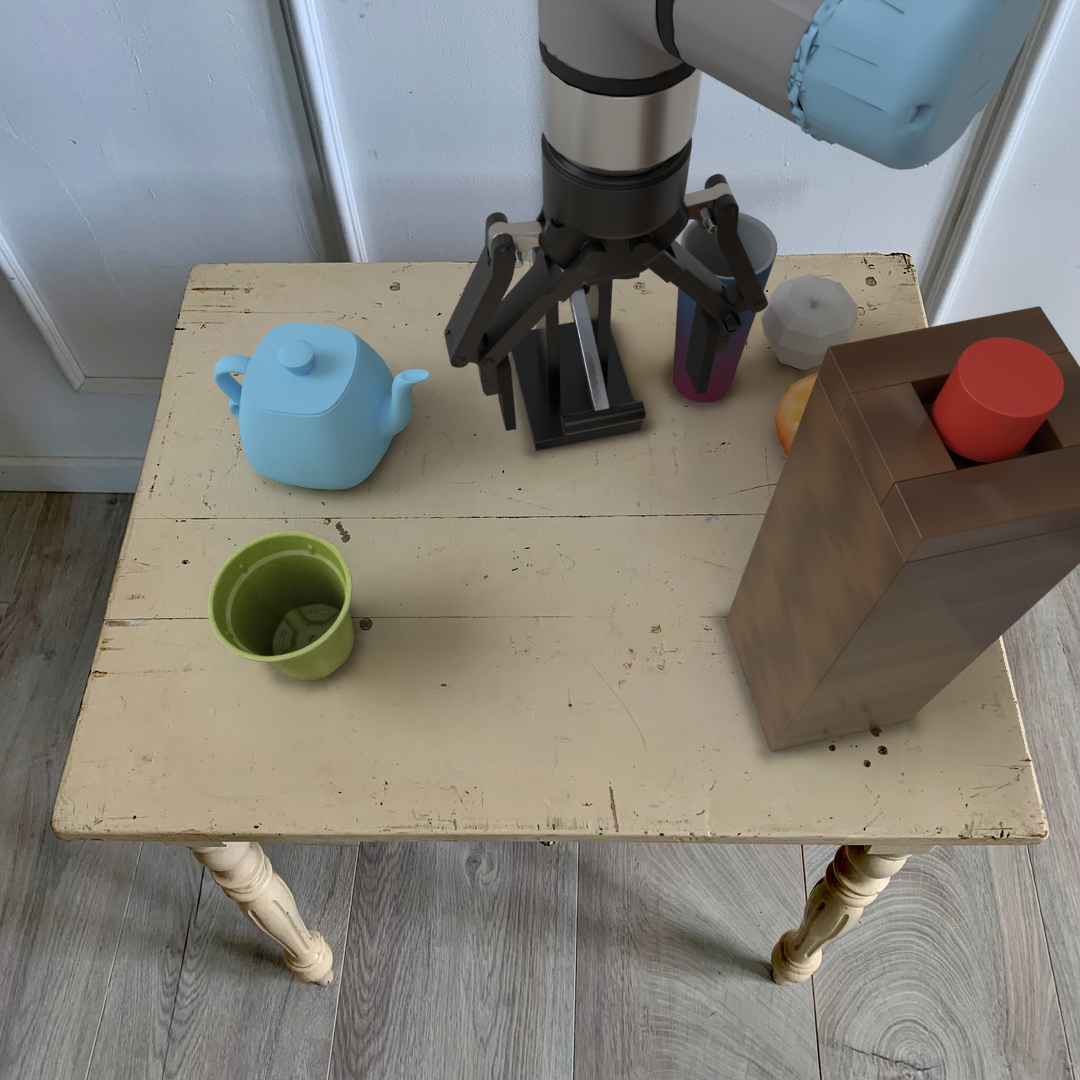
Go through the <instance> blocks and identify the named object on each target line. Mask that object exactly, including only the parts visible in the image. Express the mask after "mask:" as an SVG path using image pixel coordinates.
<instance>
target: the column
mask: <svg viewBox="0 0 1080 1080" xmlns="http://www.w3.org/2000/svg"><path fill="white" fill-rule="evenodd" d="M989 338H1011V339H1016V340H1020V341H1023V342H1026V343H1029V344H1031V345H1033V346H1035V347H1037V348H1038V349H1040V350H1041V351H1043V352H1044V353H1046V354H1047V355H1048V356H1049V357H1050V358H1051V359H1052V360H1053V361H1054V362H1055V364H1056V365H1057V366H1058V368H1059V370H1060V372H1061V374H1062V377H1063V382H1064V390H1063V395H1062V398H1061V400H1060V401H1059V403H1058V404H1057V405H1056V407H1055V408H1054V409H1053V411H1052V412H1051V413H1050V414H1049V416H1048V417H1047V418H1046V420H1045V421H1044V422H1043V424H1042V425H1041V426H1040V427H1039V429H1038V430H1037V431H1036V433H1035V434H1034V435H1033V436H1032V438H1031V439H1030V440H1029V442H1028V443H1027V444H1026V445H1025V447H1024V448H1023V449H1022V450H1021V451H1020V452H1019V453H1018V454H1017V455H1015V456H1014V457H1012V458H1009V459H1007V460H1004V461H1000V462H989V463H987V462H978V461H973V460H970V459H967V458H964V457H962V456H960V455H958V454H956V453H954V452H953V451H951V450H950V449H949V448H947V447H946V446H945V445H944V444H943V442H942V441H941V439H940V437H939V435H938V433H937V431H936V429H935V427H934V426H933V424H932V422H931V409H932V406H933V404H934V402H935V400H936V398H937V397H938V395H939V393H940V391H941V390H942V388H943V386H944V384H945V383H946V381H947V379H948V377H949V376H950V374H951V372H952V371H953V369H954V367H955V365H956V364H957V362H958V360H959V358H960V357H961V355H962V354H963V352H964V351H965V350H966V349H967V348H968V347H970V346H971V345H973V344H974V343H976V342H979V341H981V340H985V339H989ZM1079 565H1080V365H1079V363H1078V361H1077V360H1076V358H1075V357H1074V356H1073V354H1072V353H1071V351H1069V348H1068V346H1067V345H1066V343H1065V341H1064V340H1063V339H1062V338H1061V336H1060V334H1059V332H1058V331H1057V330H1056V328H1055V327H1054V325H1053V324H1052V322H1051V320H1050V319H1049V318H1048V316H1047V315H1046V313H1045V312H1044V310H1043V308H1042V307H1041V306H1039V305H1037V306H1032V307H1027V308H1022V309H1018V310H1011V311H1006V312H1001V313H995V314H990V315H986V316H980V317H976V318H970V319H965V320H958V321H954V322H949V323H944V324H943V323H942V324H939V325H933V326H928V327H923V328H917V329H913V330H907V331H902V332H897V333H892V334H885V335H881V336H876V337H875V336H874V337H870V338H865V339H860V340H855V341H849V342H848V343H844V344H839V345H833V346H829V347H828V348H827V351H826V354H825V356H824V359H823V362H822V364H820V367H819V370H818V376H817V378H816V380H815V383H814V386H813V388H812V391H811V394H810V396H809V399H808V402H807V404H806V407H805V410H804V413H803V415H802V418H801V421H800V423H799V426H798V429H797V431H796V434H795V437H794V439H793V442H792V445H791V447H790V450H789V453H788V455H787V456H786V458H785V460H784V464H783V466H782V469H781V472H780V475H779V477H778V480H777V482H776V484H775V487H774V491H773V493H772V496H771V499H770V501H769V504H768V507H767V508H766V512H765V514H764V517H763V520H762V522H761V526H760V528H759V531H758V533H757V536H756V539H755V542H754V544H753V546H752V549H751V551H750V554H749V557H748V560H747V563H746V565H745V568H744V571H743V574H742V576H741V578H740V581H739V584H738V587H737V589H736V592H735V594H734V597H733V600H732V603H731V606H730V608H729V610H728V614H727V616H726V618H725V623H726V626H727V629H728V632H729V635H730V638H731V640H732V643H733V646H734V650H735V652H736V655H737V657H738V661H739V664H740V667H741V670H742V672H743V675H744V678H745V681H746V684H747V687H748V690H749V693H750V696H751V699H752V701H753V705H754V707H755V710H756V714H757V717H758V719H759V722H760V724H761V728H762V731H763V734H764V736H765V739H766V742H767V745H768V748H769V750H770V751H769V752H776V751H780V750H786V749H790V748H793V747H799V746H802V745H807V744H812V743H816V742H820V741H825V740H829V739H834V738H837V737H842V736H847V735H852V734H856V733H861V732H865V731H869V730H874V729H877V728H882V727H887V726H891V725H896V724H900V723H905V722H909V721H910V720H911V719H912V718H913V717H914V716H916V715H917V714H918V713H919V712H920V711H921V710H922V709H923V708H924V707H925V706H927V705H928V704H929V703H930V702H931V701H932V700H933V699H934V698H935V697H936V696H937V695H938V694H940V693H941V692H942V691H943V690H944V689H945V688H946V687H947V686H948V685H950V683H952V682H953V681H954V680H955V679H956V678H957V677H959V675H960V674H961V673H962V672H964V671H965V670H966V669H967V668H968V667H969V666H970V665H971V664H972V663H974V661H975V660H977V659H978V658H979V657H980V656H982V654H983V653H985V652H986V651H987V650H988V649H989V648H990V647H991V646H992V645H993V644H994V643H995V642H996V641H997V640H998V639H1000V638H1001V637H1002V636H1003V635H1004V634H1005V633H1006V632H1007V631H1008V630H1009V629H1011V627H1013V626H1014V625H1015V624H1016V623H1017V622H1018V621H1019V620H1020V619H1021V618H1022V617H1023V616H1025V614H1027V613H1028V612H1029V611H1030V610H1031V609H1032V608H1033V607H1034V606H1035V605H1036V604H1038V603H1039V602H1040V601H1041V600H1042V599H1043V598H1044V597H1045V596H1046V595H1047V594H1048V593H1050V592H1051V591H1052V590H1054V588H1055V587H1056V586H1057V585H1058V584H1060V582H1061V581H1063V580H1064V579H1065V578H1066V577H1067V576H1068V575H1069V574H1070V573H1071V572H1072V571H1073V570H1074V569H1075V568H1077V567H1078V566H1079Z"/></svg>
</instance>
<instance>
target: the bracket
mask: <svg viewBox="0 0 1080 1080" xmlns="http://www.w3.org/2000/svg"><path fill="white" fill-rule="evenodd" d="M539 250H540V247H534V248H532V249H531V253H532V265H533V264H534V262H535V257H536V254H537V252H538V251H539ZM613 281H614V279H613V280H610V281H608V282H605V283H602V284H599V285H594V286H591V287H590V290H589V293H588V294H585V295H586V300H587V305H588V309H589V314H590V318H591V323H592V328H593V332H594V337H595V342H596V346H597V351H598V356H599V360H600V365H601V370H602V374H603V379H604V383H605V388H606V393H607V397H608V402H609V406H614V405H620V404H625V403H630V402H635V401H636V400H635V398H634V395H633V392H632V388H631V386H630V383H629V382H630V381H629V379H628V377H627V373H626V371H625V367H624V364H623V361H622V359H621V355H620V352H619V350H618V347H617V343H616V341H615V338H614V335H613V332H612V329H611V323H612V304H613V303H612V302H613ZM559 308H560V306H559V301H558V302H557V303H556V304H555V305H554V306H553V307H552V308H551V309H550V310H549V311H548V312H547V313H546V314H545V315H544V317H543V318H542V319H541V320H540V321H539V322H538V323H537V324H536V325H535V328H532V329H531V330H530V331H529V332H528V333H527V335H526V336H525V337H524V338H523V339H522V340H521V341H520V342H519V343H518V344H517V345H516V346H515V347H514V348H513V349H512V350H511V351H510V353H509V354H510V357H511V361H512V365H513V369H514V372H515V373H514V374H515V377H516V380H517V384H518V389H519V392H520V396H521V401H522V404H523V408H524V412H525V416H526V419H527V423H528V424H527V425H528V427H529V431H530V436H531V438H532V443H533V446H534V450H535V451H543V450H547V449H552V448H557V447H563V446H568V445H572V444H573V445H574V444H577V443H583V442H589V441H595V440H598V439H603V438H609V437H613V436H618V435H625V434H629V433H634V432H639V431H642V425H643V424H642V423H643V420H642V421H637V422H631V423H626V424H621V425H616V426H611V427H606V428H601V429H596V430H590V431H585V432H580V433H575V434H570V435H564V433H563V430H562V425H561V416H563V415H568V414H573V413H578V412H583V411H588V410H593V409H592V404H591V399H590V395H589V390H588V385H587V381H586V376H585V371H584V367H583V362H582V357H581V353H580V348H579V343H578V339H577V334H576V329H575V325H574V321H571V322H565V323H560V313H559Z"/></svg>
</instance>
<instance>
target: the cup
mask: <svg viewBox="0 0 1080 1080" xmlns="http://www.w3.org/2000/svg"><path fill="white" fill-rule="evenodd" d="M737 233H738V235H739V238H740V240H741V242H742V244H743V247H744V249H745V251H746V253H747V256H748V258H749V260H750V262H751V264H752V267H753V269H754V271H755V273H756V276H757V278H758V280H759V282H760V285H761V287H762V289H763V291H764V292H765V289H766V286H767V283H768V280H769V277H770V275H771V273H772V268H773V265H774V263H775V260H776V257H777V253H778V242H777V239H776V236H775V234H774V233H773V231H772V230H771V229H770V228H769V227H768V226H767V225H766V224H765V223H764V222H763V221H761V220H760V219H759V218H756V217H754V216H752V215H750V214H747V213H744V212H739V217H738V230H737ZM680 245H681V246H682V247H683V248H685V249H686V250H687V251H688V252H689V253H690V254H691V255H693V256H694V257H695V258H696V259H697V260H698V261H699V262H700V263H702V264H703V265H704V266H705V267H706V268H707V269H708V270H709V271H711V272H712V273H713V274H714V275H715V276H716V277H717V278H718V279H720V280H721V281H722V282H723V283H724V284H725V285H726V286H727V287H728V286H730V285H733V284H735V283H736V281H735V279H734V276H733V274H732V272H731V270H730V268H729V266H728V264H727V262H726V260H725V258H724V256H723V254H722V252H721V250H720V247H719V245H718V243H717V240H716V238H715V236H714V234H710V233H709V232H708V230H707V229H702V228H701V227H700V226H699V224H698V222H697V221H696V220H693V221H691V222H690V223H688V224H687V226H686V227H685V229H684V230H683V231H682V235H681V238H680ZM695 307H696V302H695V301H693V300H692V299H691V298H690V297H689V296H687V295H686V294H685V293H684V292H682V291H681V290H680V289H679V288H678V287H677V301H676V316H675V317H676V320H675V336H674V352H673V353H674V354H673V368H672V369H673V370H672V382H673V385H674V387H675V389H676V390H677V392H678V393H679V395H681V396H683V397H684V398H686V399H688V400H690V401H693V402H695V403H696V402H697V403H711V402H715V401H717V400H720V399H722V398H723V397H725V396H726V395H727V394H728V393H729V391H730V389H731V387H732V385H733V381H734V379H735V376H736V373H737V369H738V367H739V364H740V362H741V358H742V355H743V352H744V350H745V347H746V344H747V341H748V338H749V335H750V332H751V329H752V327H753V323H754V320H755V318H756V315H757V312H756V313H753V312H751V311H750V310H747V311H744V312H742V313H740V314H739V316H740V318H741V321H742V323H743V326H742V328H741V329H740V330H739V331H737V332H735V333H732V334H731V335H730V339H729V344H728V346H727V348H726V349H725V350H724V351H722V352H716V353H715V356H714V361H713V365H712V370H711V374H710V379H709V383H708V388H707V393H702V394H697V395H696V393H695V390H694V388H693V385H692V382H691V380H690V377H689V374H688V372H687V369H686V366H685V363H686V358H687V352H688V346H689V341H690V335H691V330H692V324H693V318H694V313H695Z"/></svg>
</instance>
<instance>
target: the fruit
mask: <svg viewBox="0 0 1080 1080" xmlns="http://www.w3.org/2000/svg"><path fill="white" fill-rule="evenodd" d="M818 372H819V371H818ZM818 372H814V373H811V374H810V375H807V376H804V377H802V378H800V379H798V380H797V381H795V382H792V383H791V384H790V385H789V386H788V388H787V389H786V391H785V393H784V395H783V396H782V397H781V399H780V401H779V404H778V407H777V409H776V412H775V415H774V418H773V422H774V425H775V431H776V435H777V438H778V441H779V444H780V446H781V448H782V450H783V452H784V454H785V456H786V457H787V455H788V453H789V450H790V447H791V445H792V442H793V439H794V437H795V434H796V431H797V429H798V426H799V423H800V421H801V418H802V415H803V413H804V410H805V407H806V404H807V402H808V399H809V396H810V394H811V391H812V388H813V386H814V383H815V380H816V378H817V376H818Z"/></svg>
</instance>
